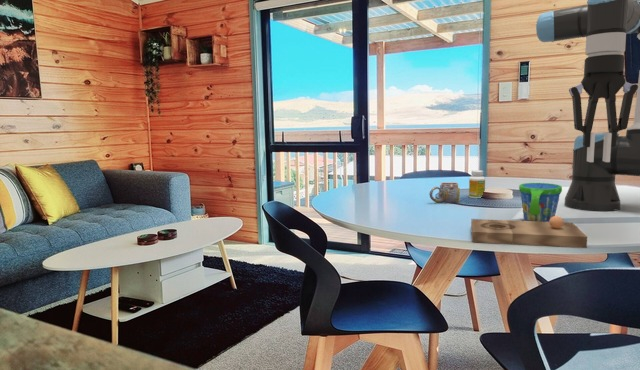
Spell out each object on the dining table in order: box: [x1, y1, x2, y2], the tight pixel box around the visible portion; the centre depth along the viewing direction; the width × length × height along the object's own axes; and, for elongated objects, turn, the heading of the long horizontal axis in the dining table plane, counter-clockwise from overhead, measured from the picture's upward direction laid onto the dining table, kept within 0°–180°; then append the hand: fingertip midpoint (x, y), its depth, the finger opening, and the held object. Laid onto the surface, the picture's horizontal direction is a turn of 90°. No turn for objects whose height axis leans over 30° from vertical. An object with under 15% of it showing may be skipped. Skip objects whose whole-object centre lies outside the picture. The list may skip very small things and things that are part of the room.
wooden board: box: [470, 218, 588, 249], centre depth 111 cm, size 24×14×2 cm, turn 73°
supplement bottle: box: [468, 169, 486, 199], centre depth 166 cm, size 5×5×10 cm
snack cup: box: [518, 182, 563, 222], centre depth 126 cm, size 16×10×10 cm
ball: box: [549, 215, 564, 229], centre depth 109 cm, size 3×3×3 cm
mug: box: [429, 182, 461, 204], centre depth 158 cm, size 12×7×7 cm, turn 114°
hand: (598, 161), depth 105 cm, fingers open, 3 cm apart
